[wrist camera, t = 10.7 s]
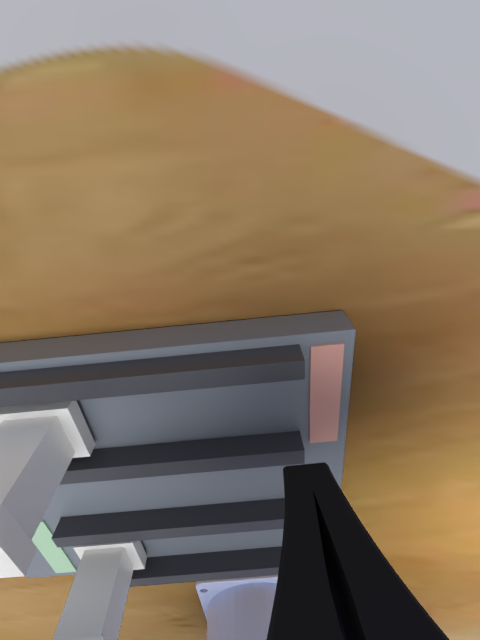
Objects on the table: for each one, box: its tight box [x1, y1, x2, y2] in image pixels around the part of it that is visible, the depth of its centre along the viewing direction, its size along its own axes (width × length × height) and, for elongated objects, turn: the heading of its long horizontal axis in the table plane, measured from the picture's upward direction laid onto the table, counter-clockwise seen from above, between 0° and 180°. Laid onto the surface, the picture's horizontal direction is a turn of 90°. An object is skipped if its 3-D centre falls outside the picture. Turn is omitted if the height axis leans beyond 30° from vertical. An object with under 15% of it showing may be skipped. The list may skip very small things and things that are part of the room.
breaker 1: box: [0, 400, 96, 578], centre depth 11 cm, size 3×3×5 cm
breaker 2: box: [53, 541, 147, 640], centre depth 15 cm, size 3×3×5 cm
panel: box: [0, 310, 356, 587], centre depth 15 cm, size 15×18×2 cm
